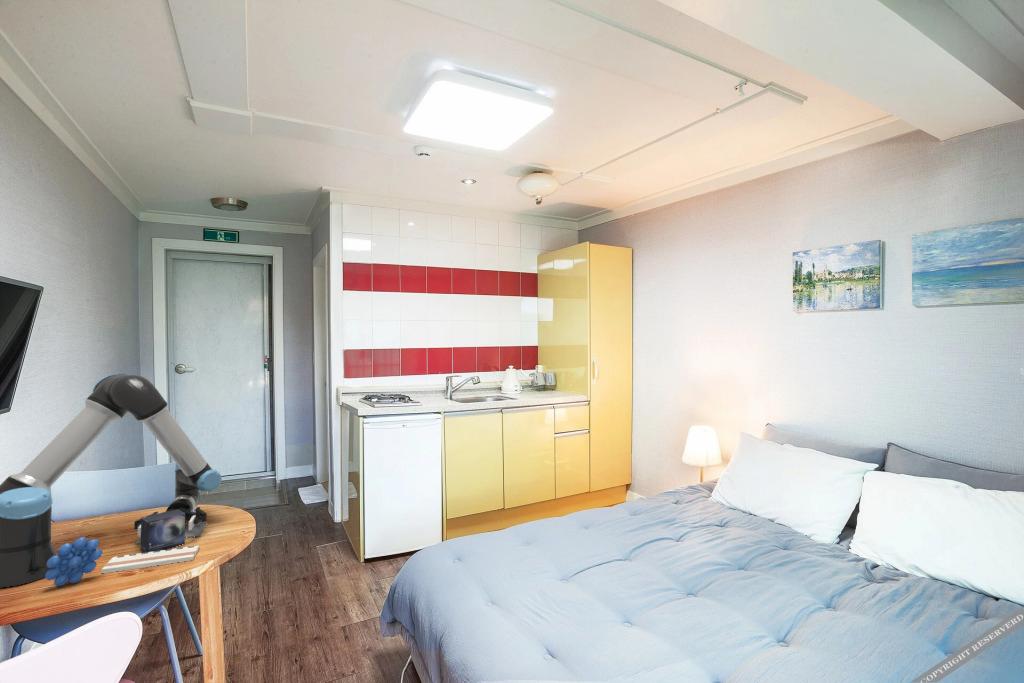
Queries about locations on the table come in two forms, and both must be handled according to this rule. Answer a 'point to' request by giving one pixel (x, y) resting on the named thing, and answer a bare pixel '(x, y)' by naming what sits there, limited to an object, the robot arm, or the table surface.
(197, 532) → the mat
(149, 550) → the small box
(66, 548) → the blue bumpy cluster
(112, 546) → the table surface
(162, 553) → the board
